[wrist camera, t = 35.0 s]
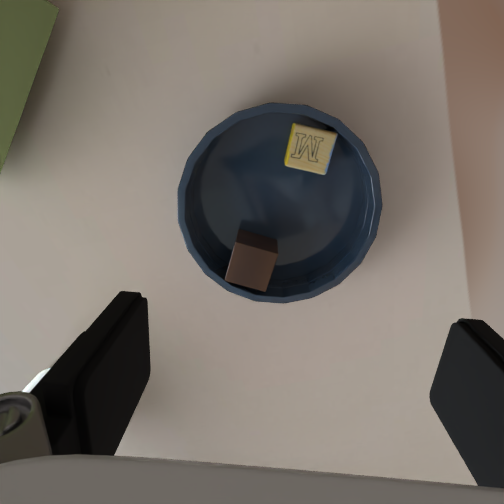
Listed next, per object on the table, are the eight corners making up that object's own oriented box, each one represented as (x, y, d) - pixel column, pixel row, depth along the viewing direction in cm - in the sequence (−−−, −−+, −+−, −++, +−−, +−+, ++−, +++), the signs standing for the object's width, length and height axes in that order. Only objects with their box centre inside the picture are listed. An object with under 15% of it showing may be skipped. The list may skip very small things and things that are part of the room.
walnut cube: (277, 239, 30) (278, 254, 27) (265, 274, 31) (265, 292, 28) (238, 228, 30) (235, 241, 27) (228, 264, 31) (224, 280, 28)
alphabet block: (320, 170, 28) (326, 175, 25) (282, 161, 28) (284, 166, 25) (331, 131, 27) (339, 132, 24) (292, 122, 27) (295, 122, 24)
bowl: (383, 113, 27) (402, 111, 23) (350, 288, 32) (361, 310, 28) (188, 99, 27) (176, 95, 23) (188, 275, 32) (178, 295, 29)
